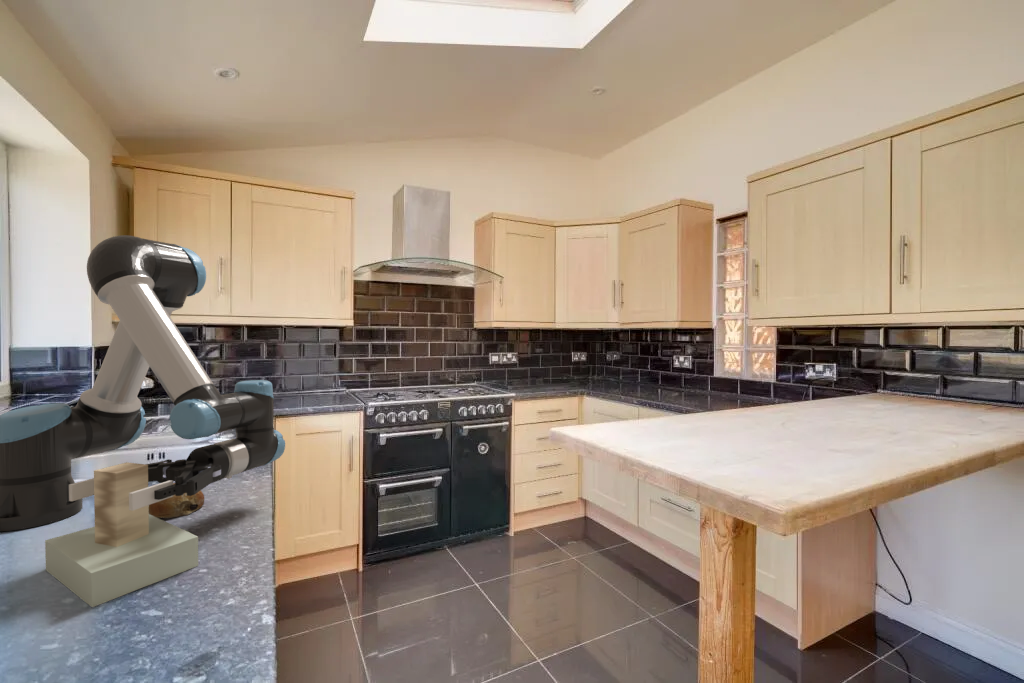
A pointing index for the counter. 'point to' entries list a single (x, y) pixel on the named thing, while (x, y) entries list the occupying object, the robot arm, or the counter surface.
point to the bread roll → (177, 505)
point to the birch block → (119, 504)
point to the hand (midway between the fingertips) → (99, 497)
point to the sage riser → (119, 561)
